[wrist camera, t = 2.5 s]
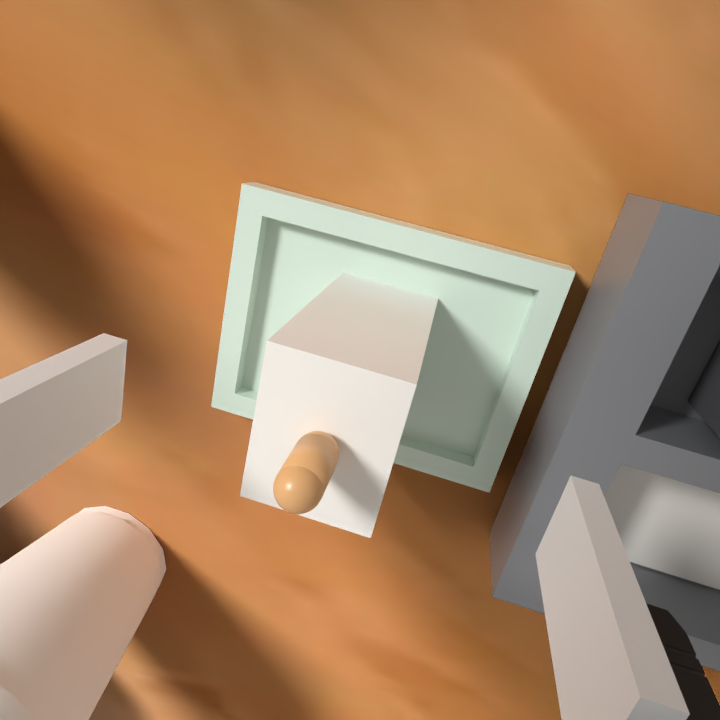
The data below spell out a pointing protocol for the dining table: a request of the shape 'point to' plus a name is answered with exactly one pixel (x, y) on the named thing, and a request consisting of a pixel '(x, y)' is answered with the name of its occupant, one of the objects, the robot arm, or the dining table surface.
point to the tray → (412, 272)
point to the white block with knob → (337, 402)
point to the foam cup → (73, 612)
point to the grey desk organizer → (635, 421)
